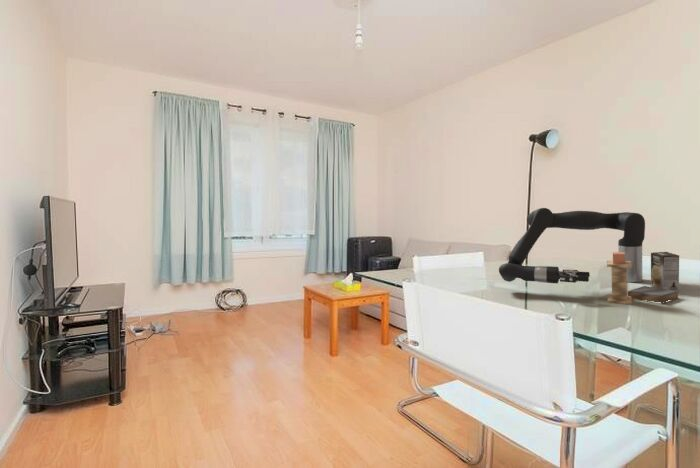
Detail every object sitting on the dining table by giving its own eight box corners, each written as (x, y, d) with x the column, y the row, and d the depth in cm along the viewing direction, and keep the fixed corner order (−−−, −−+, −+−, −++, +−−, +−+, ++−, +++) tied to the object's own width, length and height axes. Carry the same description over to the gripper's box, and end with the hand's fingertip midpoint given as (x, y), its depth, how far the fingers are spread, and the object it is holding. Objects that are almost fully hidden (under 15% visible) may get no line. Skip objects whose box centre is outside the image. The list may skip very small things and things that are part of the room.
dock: (627, 297, 154) (627, 290, 154) (643, 292, 159) (643, 285, 159) (661, 304, 143) (661, 296, 143) (677, 298, 148) (677, 291, 148)
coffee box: (649, 287, 165) (649, 252, 164) (666, 286, 164) (666, 251, 163) (662, 292, 157) (662, 255, 155) (680, 292, 155) (680, 255, 154)
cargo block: (613, 263, 149) (612, 253, 149) (612, 261, 153) (612, 252, 152) (625, 263, 147) (625, 254, 147) (624, 261, 150) (624, 252, 150)
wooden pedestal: (607, 302, 150) (607, 264, 149) (607, 297, 157) (606, 260, 155) (632, 304, 146) (631, 265, 144) (630, 298, 152) (630, 261, 151)
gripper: (544, 269, 159) (588, 271, 150) (548, 263, 171) (589, 264, 162) (544, 286, 160) (588, 289, 151) (548, 279, 172) (589, 281, 162)
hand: (589, 276), depth 156 cm, fingers open, 8 cm apart
